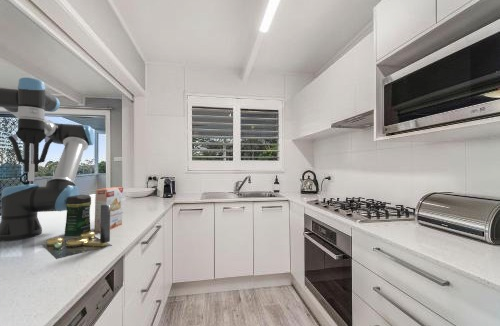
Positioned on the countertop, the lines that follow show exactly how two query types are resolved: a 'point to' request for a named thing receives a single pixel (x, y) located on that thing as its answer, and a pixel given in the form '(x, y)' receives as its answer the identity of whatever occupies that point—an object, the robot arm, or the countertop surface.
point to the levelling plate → (61, 250)
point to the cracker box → (115, 200)
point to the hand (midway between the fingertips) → (31, 180)
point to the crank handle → (103, 231)
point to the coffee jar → (77, 215)
